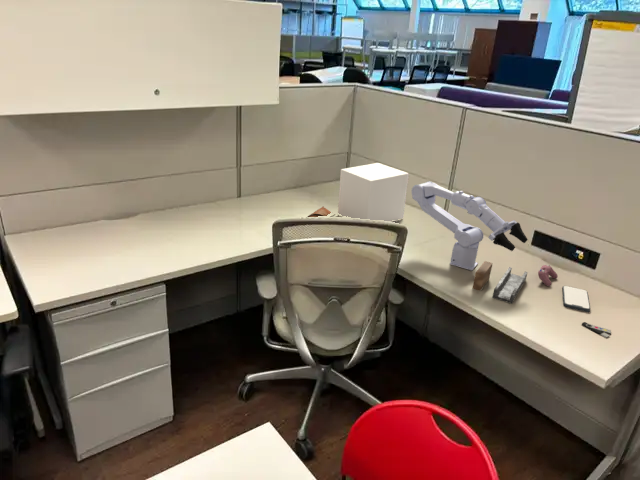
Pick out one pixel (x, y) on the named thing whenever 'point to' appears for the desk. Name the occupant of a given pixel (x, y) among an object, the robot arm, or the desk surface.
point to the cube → (373, 192)
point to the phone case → (575, 298)
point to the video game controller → (547, 274)
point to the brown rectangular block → (482, 275)
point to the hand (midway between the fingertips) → (519, 245)
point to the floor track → (509, 286)
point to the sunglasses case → (320, 212)
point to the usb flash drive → (597, 329)
